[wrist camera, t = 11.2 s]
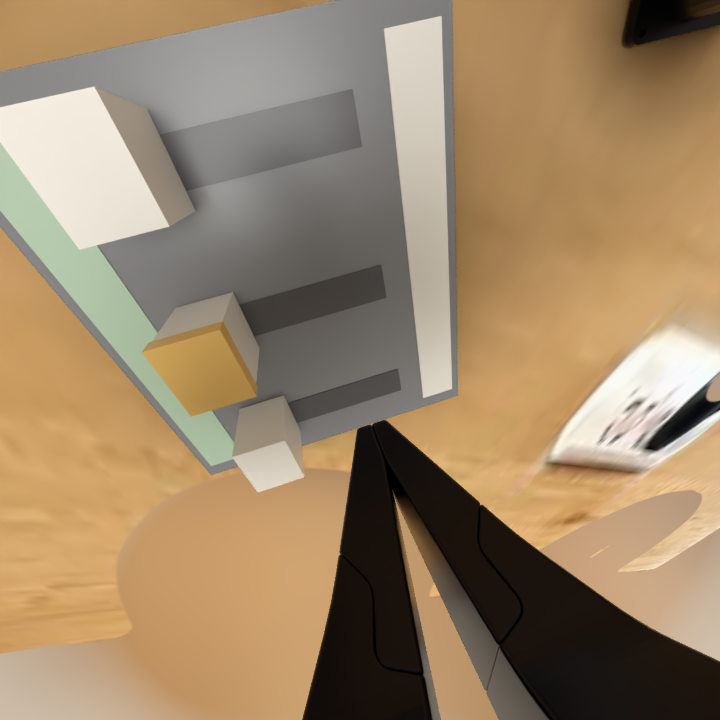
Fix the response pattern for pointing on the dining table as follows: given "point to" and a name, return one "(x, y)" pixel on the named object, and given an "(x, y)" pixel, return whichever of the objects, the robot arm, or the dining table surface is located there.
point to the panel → (278, 209)
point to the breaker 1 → (95, 164)
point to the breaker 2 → (268, 444)
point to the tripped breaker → (206, 354)
